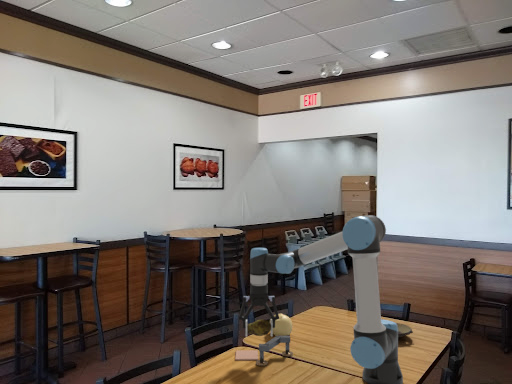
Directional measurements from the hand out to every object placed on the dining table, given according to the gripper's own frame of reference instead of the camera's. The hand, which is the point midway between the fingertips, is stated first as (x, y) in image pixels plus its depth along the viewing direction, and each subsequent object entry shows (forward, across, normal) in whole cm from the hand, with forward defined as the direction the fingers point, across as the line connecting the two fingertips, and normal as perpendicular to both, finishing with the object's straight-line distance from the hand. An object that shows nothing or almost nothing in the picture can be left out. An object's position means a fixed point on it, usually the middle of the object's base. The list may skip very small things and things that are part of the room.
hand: (259, 335), depth 178 cm
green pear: (+1, 0, 0) cm, 1 cm away
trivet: (+12, +5, -8) cm, 15 cm away
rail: (+12, -7, -4) cm, 14 cm away
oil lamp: (+12, -66, -35) cm, 76 cm away
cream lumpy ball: (+12, -12, -36) cm, 40 cm away
